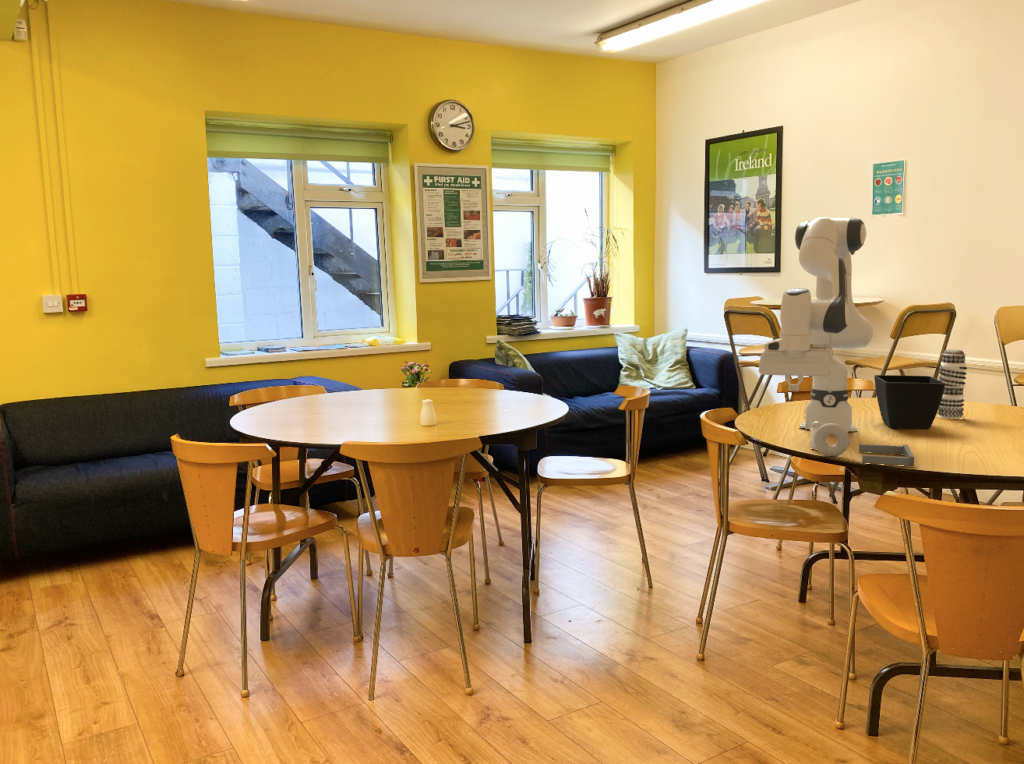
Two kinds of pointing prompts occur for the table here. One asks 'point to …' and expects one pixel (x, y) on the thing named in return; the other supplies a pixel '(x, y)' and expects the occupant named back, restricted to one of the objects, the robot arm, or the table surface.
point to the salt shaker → (814, 428)
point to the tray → (887, 449)
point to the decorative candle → (952, 384)
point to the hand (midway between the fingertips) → (793, 390)
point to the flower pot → (908, 400)
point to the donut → (835, 430)
